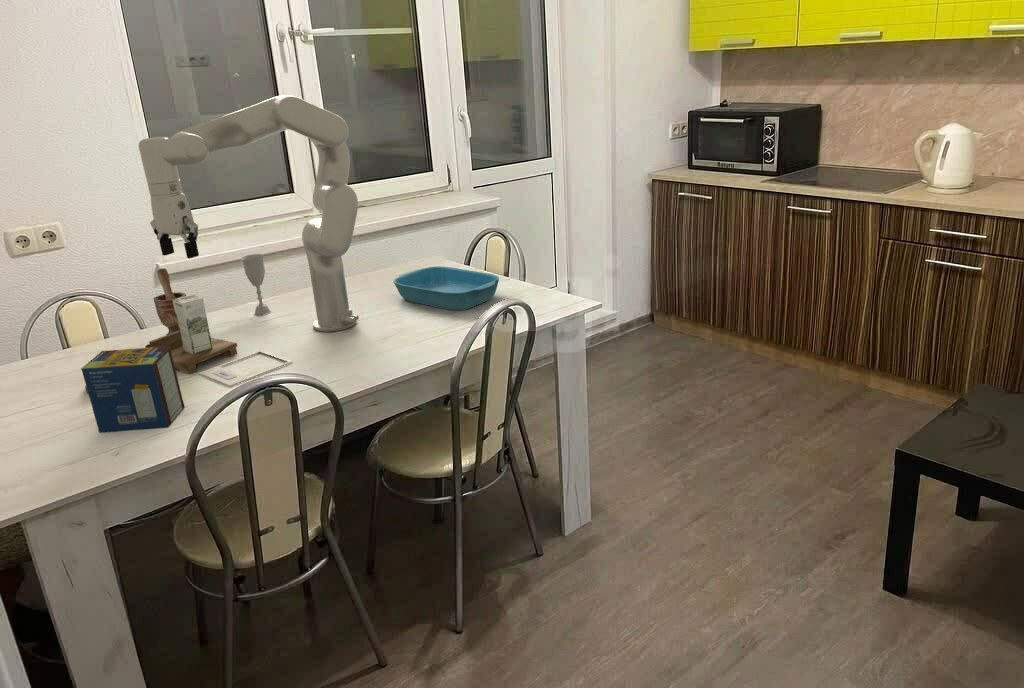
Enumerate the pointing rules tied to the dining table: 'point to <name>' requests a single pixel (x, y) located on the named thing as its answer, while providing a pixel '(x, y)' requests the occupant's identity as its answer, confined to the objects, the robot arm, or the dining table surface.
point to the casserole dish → (447, 287)
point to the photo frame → (231, 377)
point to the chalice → (256, 277)
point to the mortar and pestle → (167, 303)
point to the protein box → (133, 389)
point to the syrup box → (192, 324)
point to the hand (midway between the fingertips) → (180, 255)
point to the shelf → (187, 360)
